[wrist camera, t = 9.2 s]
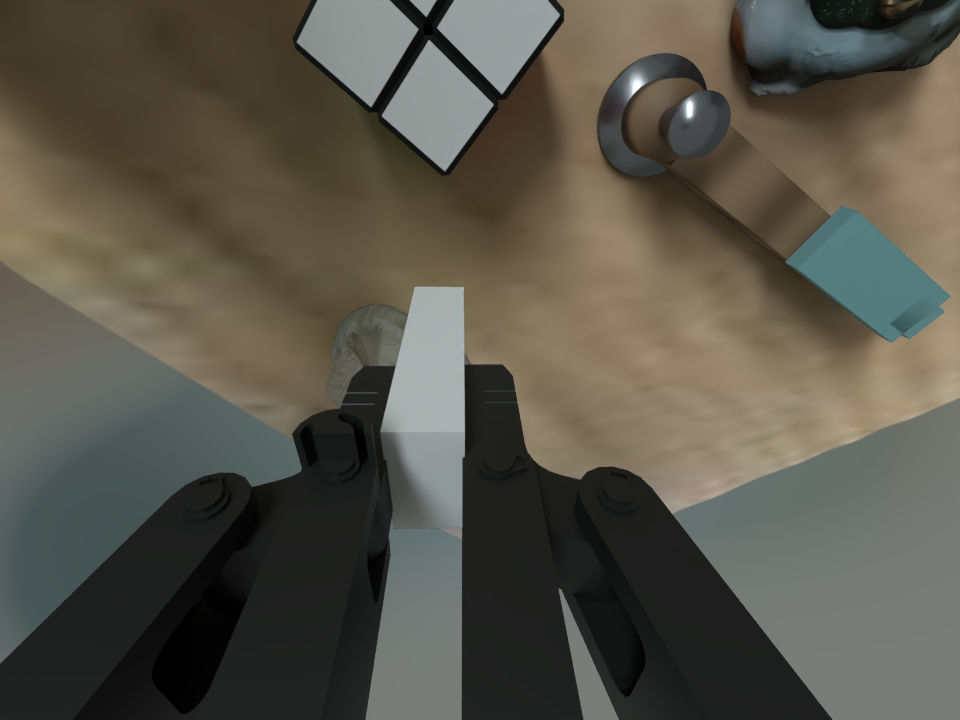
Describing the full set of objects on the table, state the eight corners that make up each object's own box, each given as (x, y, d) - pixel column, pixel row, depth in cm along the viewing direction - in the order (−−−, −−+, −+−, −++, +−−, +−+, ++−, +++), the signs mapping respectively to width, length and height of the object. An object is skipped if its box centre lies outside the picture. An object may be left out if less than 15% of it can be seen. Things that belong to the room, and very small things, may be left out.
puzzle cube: (539, 36, 29) (570, 13, 21) (450, 158, 33) (446, 180, 25) (421, -99, 26) (400, -192, 17) (337, 57, 29) (287, 43, 21)
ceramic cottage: (375, 281, 38) (332, 390, 26) (503, 375, 45) (515, 495, 33) (291, 380, 45) (226, 502, 33) (414, 448, 52) (397, 570, 40)
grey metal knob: (607, 52, 30) (650, 40, 23) (718, 55, 30) (792, 45, 23) (589, 174, 34) (620, 194, 27) (686, 176, 34) (740, 196, 28)
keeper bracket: (748, 243, 38) (797, 268, 32) (796, 192, 35) (857, 210, 30) (841, 314, 42) (898, 347, 36) (888, 273, 40) (957, 302, 34)
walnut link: (607, 131, 32) (619, 135, 29) (654, 62, 29) (672, 60, 27) (805, 288, 39) (829, 302, 37) (855, 243, 37) (884, 254, 34)
